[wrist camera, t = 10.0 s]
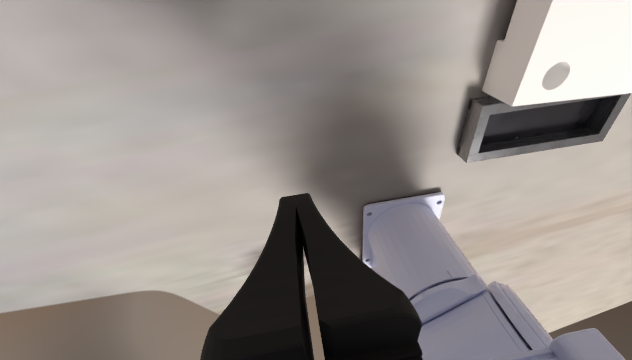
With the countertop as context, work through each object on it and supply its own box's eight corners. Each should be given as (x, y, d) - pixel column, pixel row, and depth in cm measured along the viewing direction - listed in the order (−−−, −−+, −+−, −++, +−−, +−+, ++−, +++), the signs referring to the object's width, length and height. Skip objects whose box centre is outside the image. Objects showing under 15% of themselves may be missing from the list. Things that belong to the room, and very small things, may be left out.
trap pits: (586, 133, 25) (602, 140, 24) (456, 154, 25) (466, 162, 23) (790, -238, 13) (841, -258, 12) (551, -221, 13) (581, -242, 11)
